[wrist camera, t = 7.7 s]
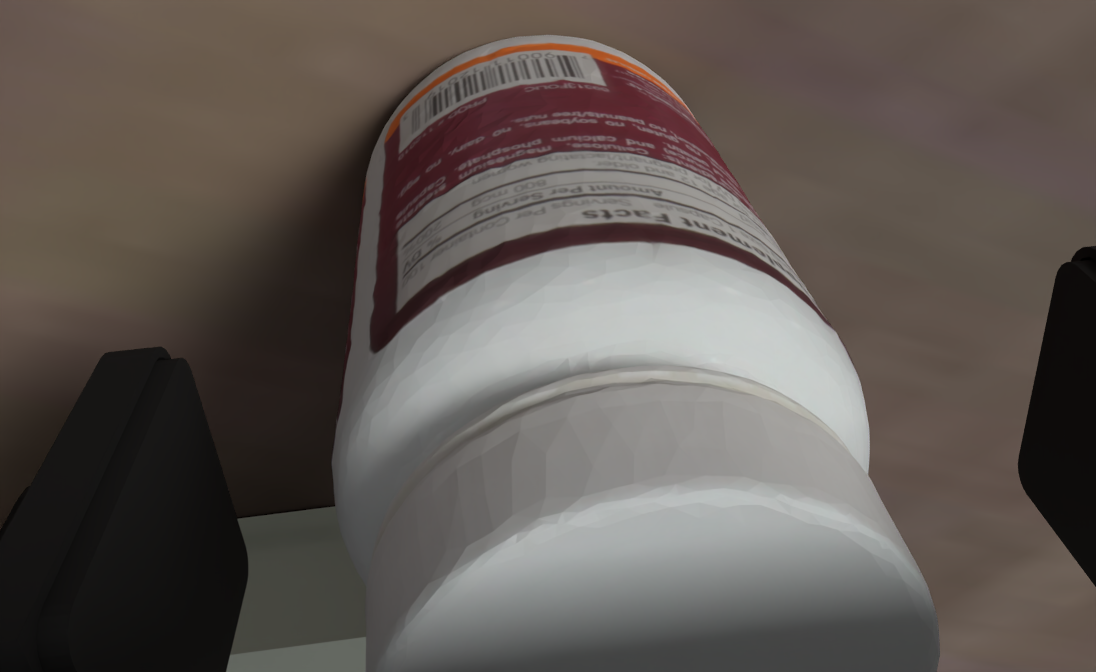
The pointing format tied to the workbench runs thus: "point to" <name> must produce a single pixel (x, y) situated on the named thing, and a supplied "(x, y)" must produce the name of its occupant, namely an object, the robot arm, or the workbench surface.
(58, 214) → the workbench surface
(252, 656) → the tray
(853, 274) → the workbench surface
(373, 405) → the pill bottle
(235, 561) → the robot arm
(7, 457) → the workbench surface
